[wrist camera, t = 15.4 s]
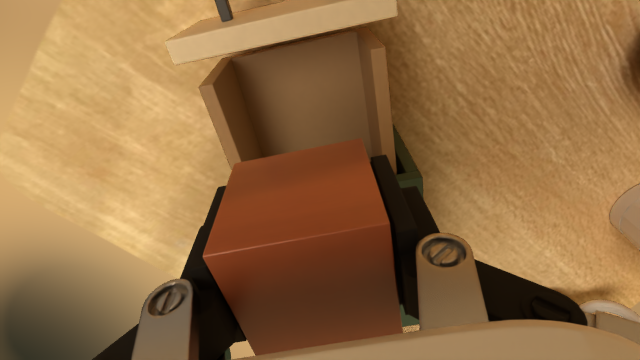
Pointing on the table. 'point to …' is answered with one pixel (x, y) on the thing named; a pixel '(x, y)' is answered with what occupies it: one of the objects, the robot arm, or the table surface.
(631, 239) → the cup
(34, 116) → the table surface
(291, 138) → the drawer
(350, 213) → the block
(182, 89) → the table surface
